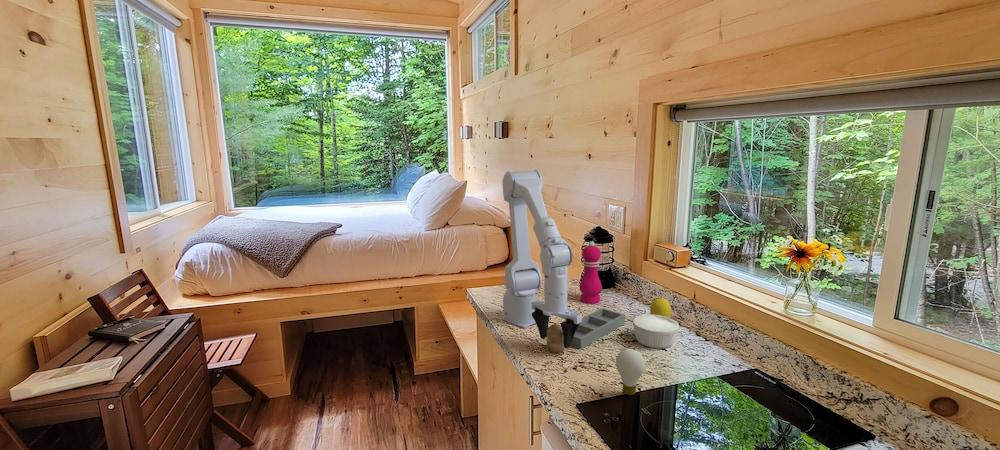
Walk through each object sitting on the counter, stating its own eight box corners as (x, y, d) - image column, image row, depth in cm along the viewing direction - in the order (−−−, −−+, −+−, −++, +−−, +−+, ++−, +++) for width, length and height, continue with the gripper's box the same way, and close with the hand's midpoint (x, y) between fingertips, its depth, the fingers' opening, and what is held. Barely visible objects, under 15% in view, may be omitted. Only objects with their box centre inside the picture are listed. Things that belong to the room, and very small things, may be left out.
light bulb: (610, 387, 97) (612, 344, 95) (637, 386, 98) (639, 343, 96) (620, 403, 91) (621, 358, 89) (648, 401, 92) (650, 356, 90)
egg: (543, 349, 115) (543, 325, 114) (554, 343, 118) (554, 320, 117) (556, 355, 112) (557, 330, 111) (567, 348, 115) (568, 324, 114)
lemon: (671, 328, 126) (673, 301, 124) (650, 327, 127) (652, 300, 125) (668, 320, 131) (670, 294, 129) (648, 319, 132) (649, 293, 131)
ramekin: (684, 340, 119) (685, 321, 118) (666, 355, 111) (667, 335, 110) (644, 328, 126) (645, 310, 125) (624, 342, 118) (625, 323, 117)
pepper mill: (604, 299, 149) (606, 240, 145) (597, 306, 143) (598, 244, 139) (584, 295, 153) (585, 237, 149) (575, 302, 147) (576, 242, 143)
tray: (557, 340, 120) (557, 330, 119) (602, 316, 135) (602, 307, 134) (580, 349, 115) (581, 339, 114) (624, 323, 129) (625, 314, 129)
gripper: (523, 288, 114) (523, 338, 117) (569, 302, 104) (569, 357, 107) (541, 282, 119) (541, 330, 122) (587, 295, 109) (586, 347, 112)
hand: (555, 342), depth 115 cm, fingers open, 7 cm apart
